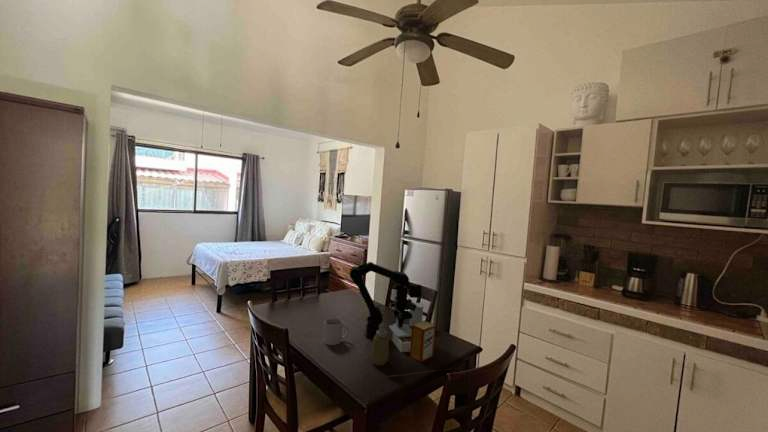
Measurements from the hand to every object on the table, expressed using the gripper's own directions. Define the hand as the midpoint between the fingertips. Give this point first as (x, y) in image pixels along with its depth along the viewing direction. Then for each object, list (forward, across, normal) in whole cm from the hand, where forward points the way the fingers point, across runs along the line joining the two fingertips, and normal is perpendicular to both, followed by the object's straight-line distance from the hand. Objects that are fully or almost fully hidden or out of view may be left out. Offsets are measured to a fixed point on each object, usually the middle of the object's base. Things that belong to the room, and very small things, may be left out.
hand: (399, 325), depth 164 cm
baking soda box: (+7, -22, -4) cm, 23 cm away
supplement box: (+7, +13, -16) cm, 22 cm away
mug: (+7, +1, +34) cm, 35 cm away
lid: (+1, -4, 0) cm, 4 cm away
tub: (+6, -10, 0) cm, 12 cm away
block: (+6, -8, -1) cm, 10 cm away
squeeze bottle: (+7, -23, +18) cm, 30 cm away
